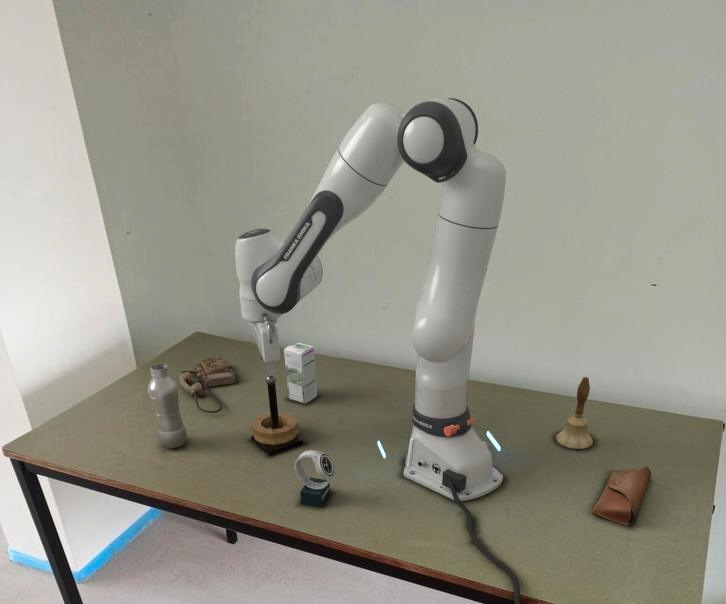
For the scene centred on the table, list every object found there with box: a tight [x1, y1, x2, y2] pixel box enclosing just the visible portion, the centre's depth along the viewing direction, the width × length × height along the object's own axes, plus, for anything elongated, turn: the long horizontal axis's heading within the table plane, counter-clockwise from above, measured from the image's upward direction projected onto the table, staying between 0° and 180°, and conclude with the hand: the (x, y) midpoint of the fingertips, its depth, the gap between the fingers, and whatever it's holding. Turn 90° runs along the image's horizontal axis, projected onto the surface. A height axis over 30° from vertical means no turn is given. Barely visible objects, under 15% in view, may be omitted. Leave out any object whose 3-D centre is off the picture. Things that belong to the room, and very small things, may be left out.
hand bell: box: [555, 376, 594, 450], centre depth 153 cm, size 8×8×16 cm
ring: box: [251, 411, 299, 445], centre depth 159 cm, size 11×11×3 cm
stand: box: [250, 375, 304, 457], centre depth 154 cm, size 9×9×17 cm
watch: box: [293, 449, 335, 509], centre depth 136 cm, size 6×8×11 cm
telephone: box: [178, 357, 237, 414], centre depth 182 cm, size 15×33×4 cm, turn 23°
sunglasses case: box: [591, 466, 652, 527], centre depth 136 cm, size 18×7×7 cm
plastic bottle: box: [147, 362, 188, 449], centre depth 153 cm, size 6×7×20 cm
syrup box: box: [283, 341, 318, 405], centre depth 174 cm, size 6×6×14 cm
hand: (267, 366), depth 153 cm, fingers open, 8 cm apart
